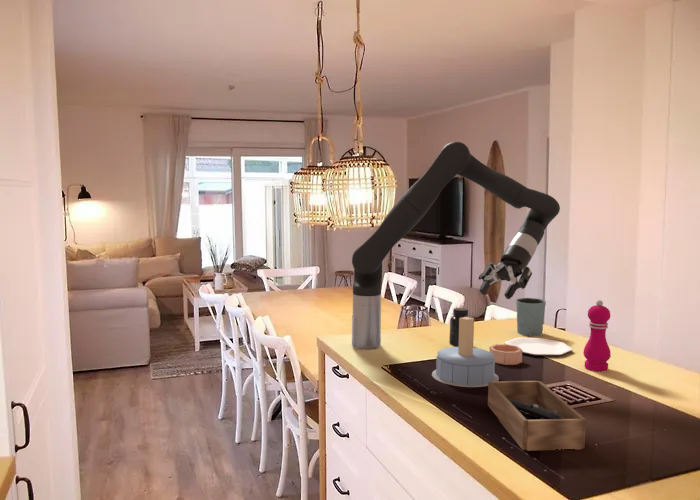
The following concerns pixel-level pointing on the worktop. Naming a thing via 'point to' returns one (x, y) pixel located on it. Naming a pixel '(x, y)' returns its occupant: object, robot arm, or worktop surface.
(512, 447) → the worktop surface
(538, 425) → the caddy
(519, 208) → the robot arm
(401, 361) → the worktop surface
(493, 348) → the bowl
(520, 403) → the can opener
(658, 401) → the worktop surface
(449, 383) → the mat
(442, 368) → the cover
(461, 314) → the supplement bottle
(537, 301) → the green cup
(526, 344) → the plate
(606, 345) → the pepper mill
